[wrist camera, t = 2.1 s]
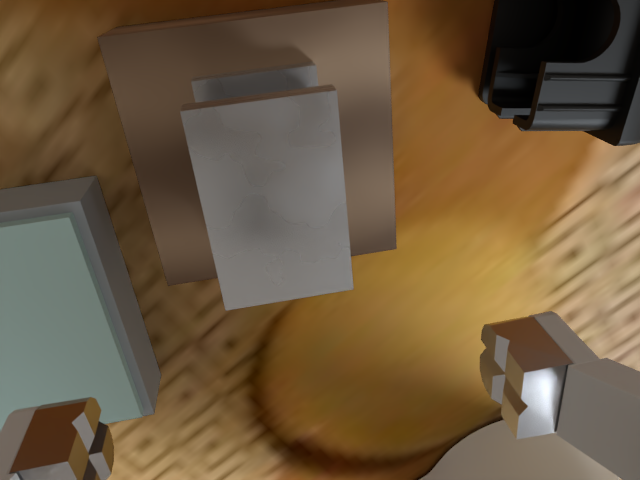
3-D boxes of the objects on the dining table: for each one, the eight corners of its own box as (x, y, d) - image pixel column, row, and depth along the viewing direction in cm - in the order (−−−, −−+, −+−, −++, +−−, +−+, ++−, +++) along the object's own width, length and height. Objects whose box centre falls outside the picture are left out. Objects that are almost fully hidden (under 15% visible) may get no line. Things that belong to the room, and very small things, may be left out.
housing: (329, 225, 27) (353, 289, 21) (227, 241, 26) (225, 310, 21) (313, 61, 23) (336, 90, 18) (192, 77, 22) (179, 111, 17)
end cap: (590, 111, 30) (677, 147, 24) (474, 111, 29) (535, 148, 23) (647, -94, 26) (770, -111, 20) (510, -102, 25) (599, -123, 19)
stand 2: (378, 217, 31) (396, 248, 28) (175, 248, 30) (167, 285, 27) (366, -4, 26) (387, 1, 22) (116, 27, 25) (97, 37, 21)
